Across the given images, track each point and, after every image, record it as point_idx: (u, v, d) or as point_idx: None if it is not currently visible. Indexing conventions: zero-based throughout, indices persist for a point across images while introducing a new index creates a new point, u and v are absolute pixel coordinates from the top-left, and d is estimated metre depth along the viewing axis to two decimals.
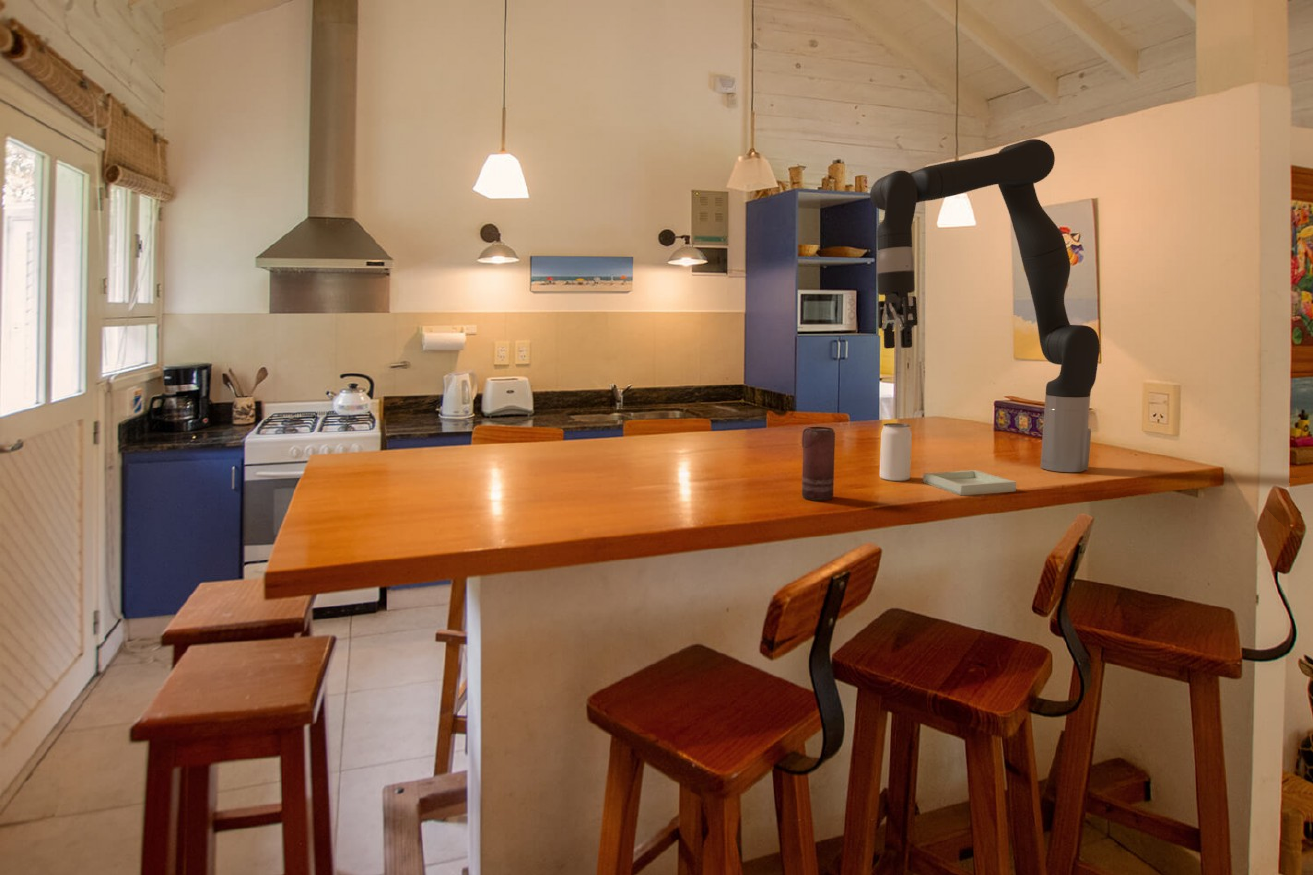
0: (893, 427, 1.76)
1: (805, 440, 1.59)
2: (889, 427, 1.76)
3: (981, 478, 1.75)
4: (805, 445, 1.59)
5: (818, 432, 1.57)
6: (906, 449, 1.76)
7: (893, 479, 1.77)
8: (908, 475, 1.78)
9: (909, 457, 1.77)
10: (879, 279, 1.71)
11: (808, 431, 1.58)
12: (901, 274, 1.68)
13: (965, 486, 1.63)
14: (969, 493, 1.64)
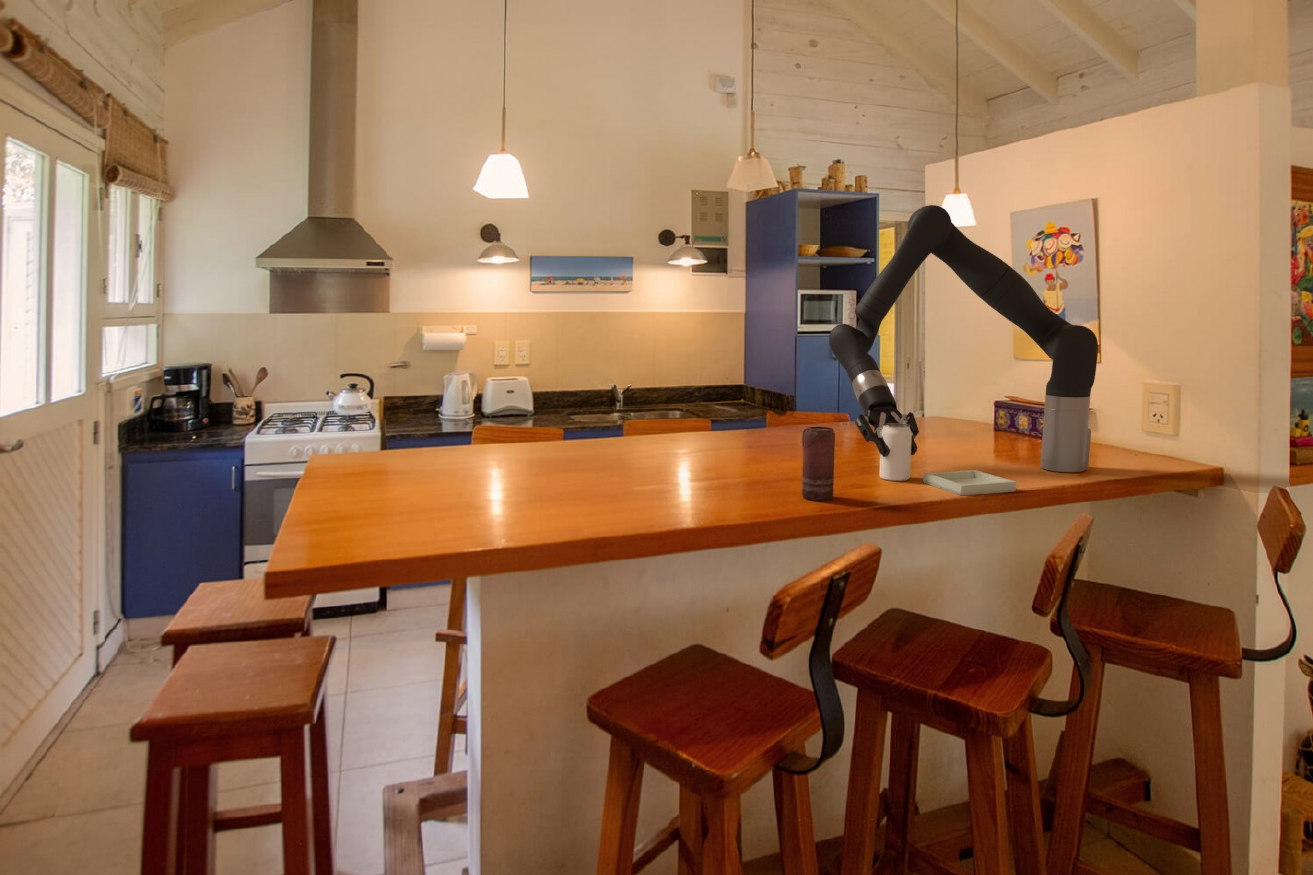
0: (893, 427, 1.76)
1: (805, 440, 1.59)
2: (889, 427, 1.76)
3: (981, 478, 1.75)
4: (805, 445, 1.59)
5: (818, 432, 1.57)
6: (906, 449, 1.76)
7: (893, 479, 1.77)
8: (908, 475, 1.78)
9: (909, 457, 1.77)
10: None
11: (808, 431, 1.58)
12: (860, 399, 1.85)
13: (965, 486, 1.63)
14: (969, 493, 1.64)
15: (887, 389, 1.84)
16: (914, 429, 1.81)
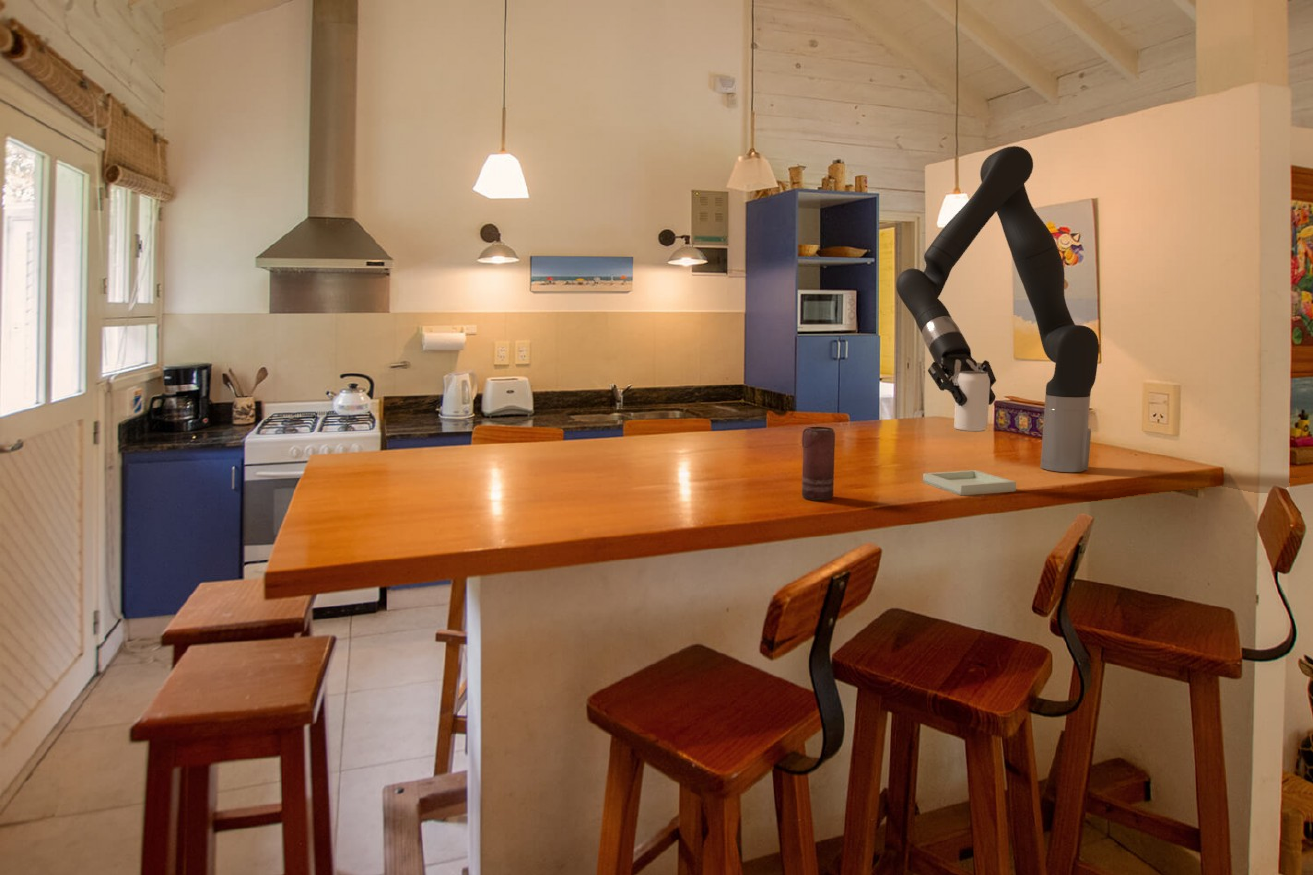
0: (971, 374, 1.65)
1: (805, 440, 1.59)
2: (966, 374, 1.66)
3: (981, 478, 1.75)
4: (805, 445, 1.59)
5: (818, 432, 1.57)
6: (985, 397, 1.65)
7: (970, 429, 1.66)
8: (986, 425, 1.67)
9: (987, 406, 1.66)
10: None
11: (808, 431, 1.58)
12: (931, 347, 1.75)
13: (965, 486, 1.63)
14: (969, 493, 1.64)
15: (961, 336, 1.73)
16: (991, 377, 1.70)
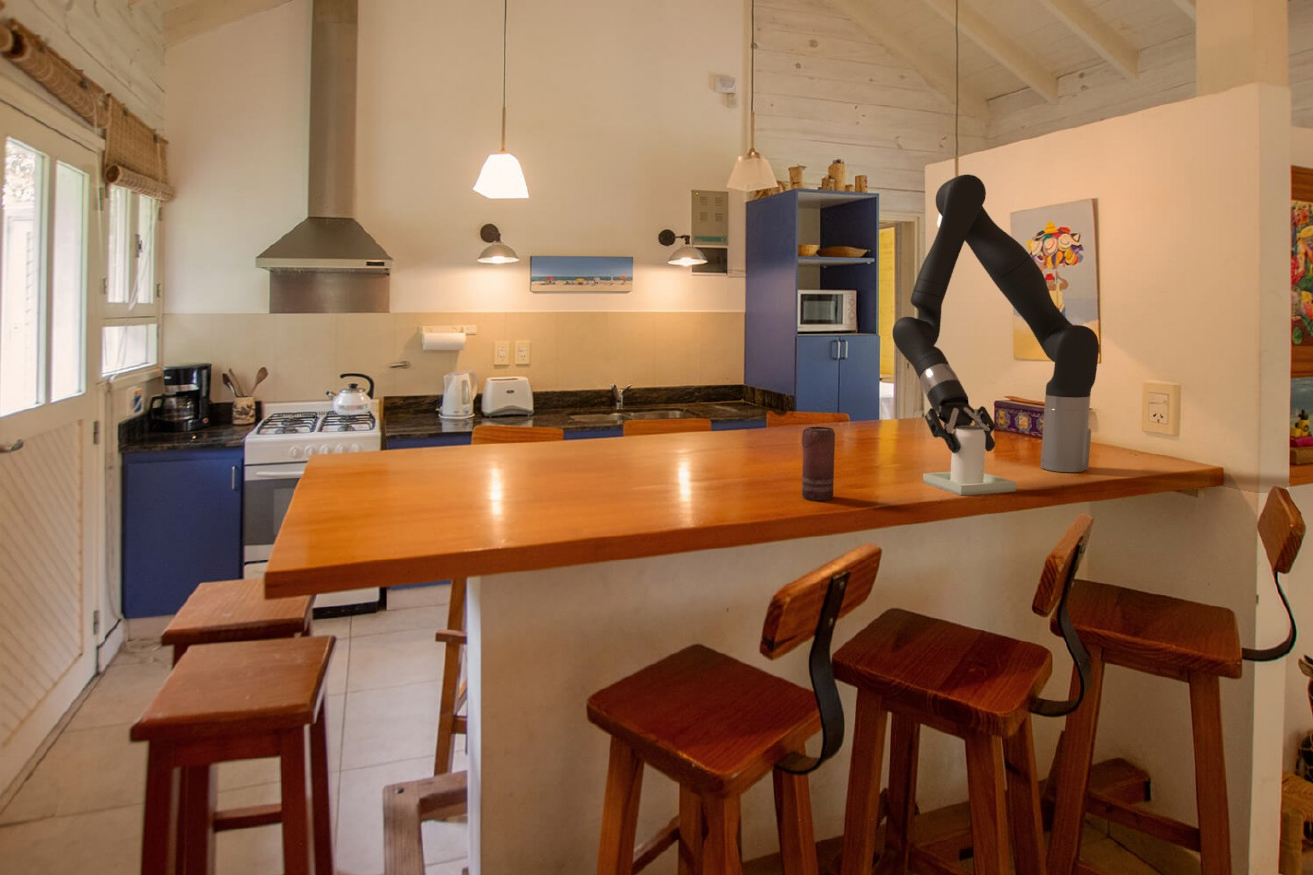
0: (967, 430, 1.67)
1: (805, 440, 1.59)
2: (962, 430, 1.67)
3: None
4: (805, 445, 1.59)
5: (818, 432, 1.57)
6: (981, 453, 1.67)
7: None
8: (982, 480, 1.69)
9: (983, 461, 1.68)
10: None
11: (808, 431, 1.58)
12: (929, 394, 1.76)
13: (965, 486, 1.63)
14: (969, 493, 1.64)
15: (959, 384, 1.75)
16: (990, 424, 1.72)
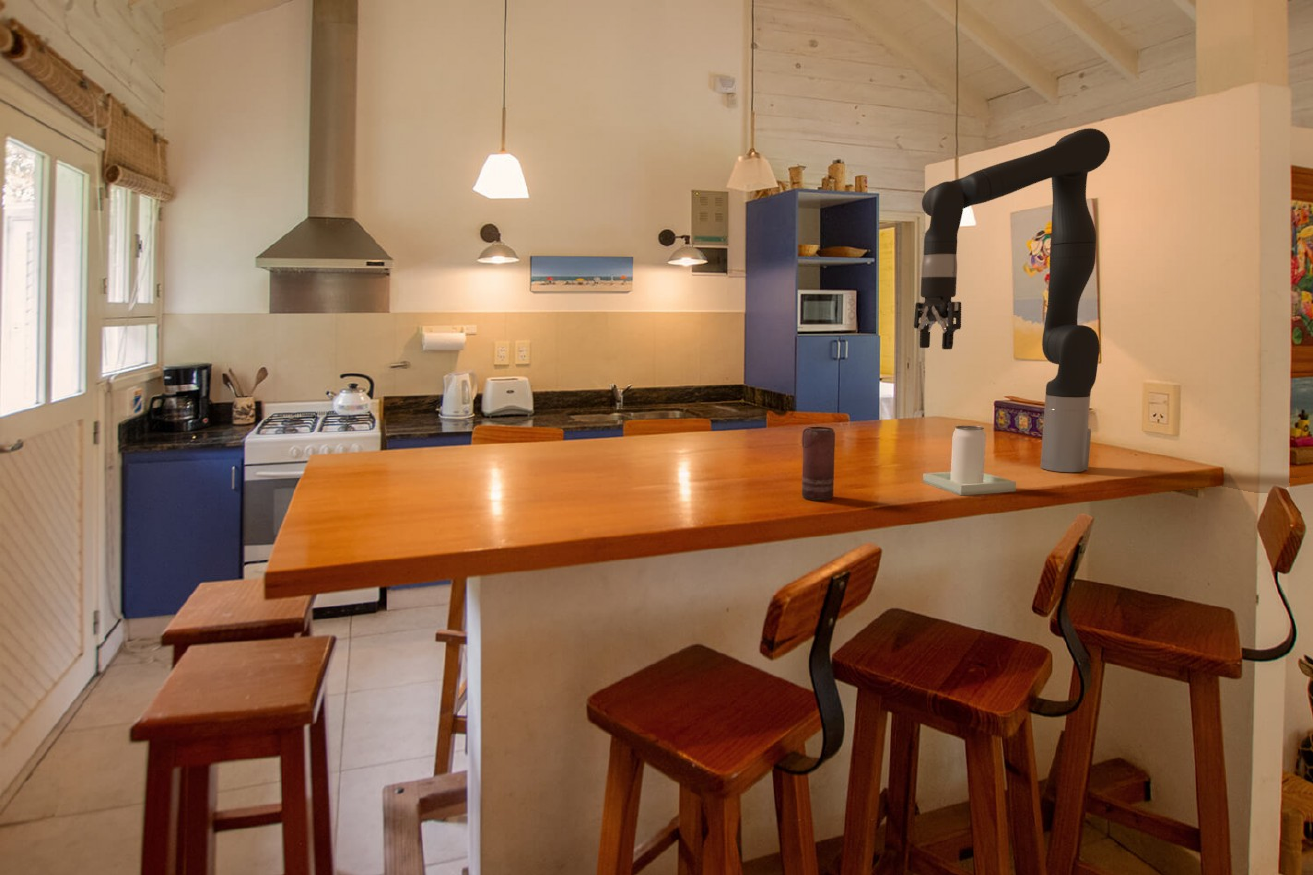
0: (967, 430, 1.67)
1: (805, 440, 1.59)
2: (962, 430, 1.67)
3: None
4: (805, 445, 1.59)
5: (818, 432, 1.57)
6: (981, 453, 1.67)
7: None
8: (982, 480, 1.69)
9: (983, 461, 1.68)
10: (924, 283, 1.81)
11: (808, 431, 1.58)
12: (947, 280, 1.79)
13: (965, 486, 1.63)
14: (969, 493, 1.64)
15: None
16: None
